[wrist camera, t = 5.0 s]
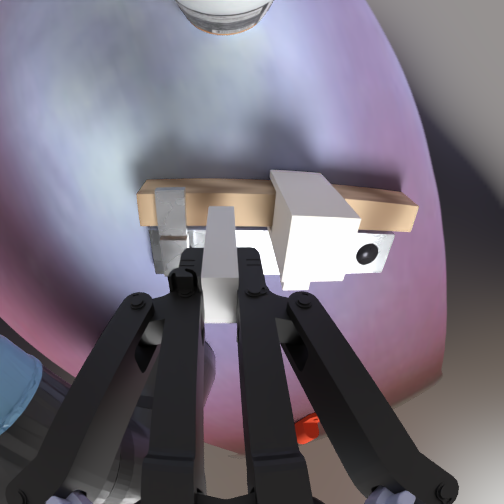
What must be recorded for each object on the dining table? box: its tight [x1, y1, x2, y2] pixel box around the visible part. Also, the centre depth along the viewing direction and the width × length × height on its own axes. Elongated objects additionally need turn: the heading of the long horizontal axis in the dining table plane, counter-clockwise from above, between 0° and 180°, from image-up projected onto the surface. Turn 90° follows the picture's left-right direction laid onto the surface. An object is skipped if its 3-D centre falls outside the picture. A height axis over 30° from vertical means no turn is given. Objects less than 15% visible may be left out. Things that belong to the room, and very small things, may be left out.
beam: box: [136, 178, 419, 232], centre depth 21 cm, size 22×2×3 cm, turn 86°
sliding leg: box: [267, 170, 361, 290], centre depth 20 cm, size 4×8×8 cm, turn 176°
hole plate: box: [149, 226, 395, 275], centre depth 24 cm, size 22×4×1 cm, turn 86°
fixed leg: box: [155, 187, 189, 276], centre depth 20 cm, size 2×7×2 cm, turn 176°
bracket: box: [294, 413, 320, 444], centre depth 50 cm, size 12×4×5 cm, turn 153°
